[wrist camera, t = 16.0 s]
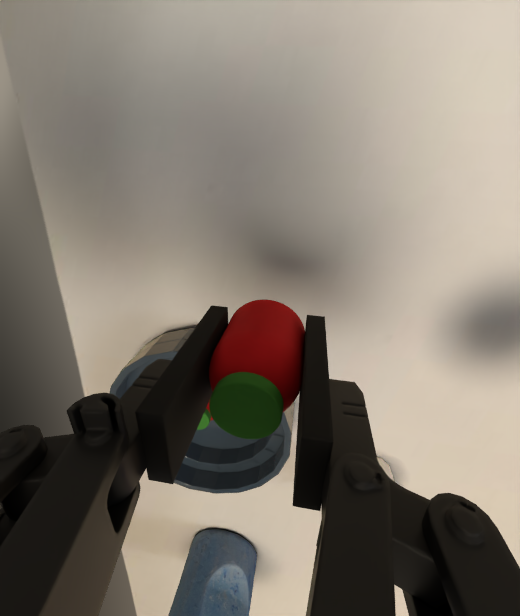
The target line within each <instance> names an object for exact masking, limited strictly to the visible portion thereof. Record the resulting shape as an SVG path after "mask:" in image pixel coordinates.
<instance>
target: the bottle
mask: <svg viewBox="0 0 520 616" xmlns="http://www.w3.org/2000/svg"><path fill="white" fill-rule="evenodd" d="M256 560H257V554H256V551H255V550H254V548H253V546H252V545H251V544H250V543H249V542H248V541H247V540H246V539H244V538H243V537H241V536H240V535H238V534H235V533H231V532H228V531H225V530H220V529H210V530H204V531H202V532H200V533H199V534H197V535H196V536H195V537H194V539H193V541H192V544H191V547H190V550H189V554H188V557H187V560H186V563H185V566H184V570H183V573H182V576H181V580H180V583H179V586H178V589H177V592H176V595H175V598H174V601H173V604H172V607H171V610H170V613H169V616H249V610H250V603H251V597H252V589H253V581H254V574H255V568H256Z"/></svg>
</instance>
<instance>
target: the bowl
mask: <svg viewBox="0 0 520 616" xmlns="http://www.w3.org/2000/svg"><path fill="white" fill-rule="evenodd" d="M194 329H195V328H188V329H183V330H178V331H173V332H168V333H164V334H162V335H161V336H159V337H158V338H156V339H154V340H153V341H151V342H150V343H148V344H146V345H145V346H144V347H143V348H142V349H141V350H140V351H139V352H138V353H137V354H136V356H135V357H134V358H133V359H132V360H131V361H130V362H129V363H128V364H127V365H126V366H125V367H124V368H123V369H122V371H121V372H120V374H119V375H118V377H117V378H116V380H115V381H114V383H113V384H112V386H111V388H110V394H114V395H115V396H117V397H118V398H119V399H120V398H121V397H122V396H123V395H124V393H125V392H126V391H127V390H128V389H129V387H130V386H132V384H133V382H134V381H135V380H136V379H137V378H139V375H140V374H141V373H142V372H143V370H144V369H145V368H146V367H147V366H148V365H150V364H151V363H153V362H154V361H156V360H157V359H165V360H173V358H174V357H175V355H176V354H177V353H178V351H179V350H180V349H181V347H182V346H183V344H184V343H185V342H186V340H187V339H188V337H189V336H190V335H191V333H192V332H193V331H194ZM293 411H294V402H293V403H292V405H291V406H290V407H289V408H288V409H286V410H285V411H284V412H283V414H282V421H281V423H280V425H279V427H278V428H277V429H276V431H274V432H273V433H272V434H270V435H269V436H266V437H264V438H260V439H243V438H239V437H236V436H233V435H231V434H229V433H227V432H225V431H224V430H223V429H221V428H220V427H219V426H218V425H217V424H216V423H215V421H214V420H211V421H210V422H209V425H208V426H207V427H206V428H205V429H202V430H196V432H195V435H194V437H193V439H192V441H191V444H190V446H189V448H188V451H187V453H186V455H185V457H184V460H183V462H182V464H181V467H180V469H179V471H178V473H177V476H176V478H175V480H174V482H173V483H176V484H178V485H181V486H184V487H186V488H189V489H193V490H199V491H205V492H210V493H239V492H243V491H247V490H250V489H253V488H257V487H260V486H262V485H263V484H265V483H266V482H268V481H269V480H271V479H272V478H273V477H275V476H276V475H278V474H279V472H280V471H281V469H282V467H283V466H284V464H285V463H286V461H287V459H288V458H289V455H290V446H291V435H292V423H293Z"/></svg>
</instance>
